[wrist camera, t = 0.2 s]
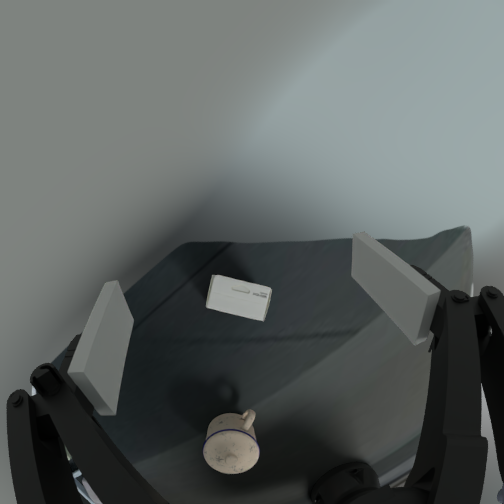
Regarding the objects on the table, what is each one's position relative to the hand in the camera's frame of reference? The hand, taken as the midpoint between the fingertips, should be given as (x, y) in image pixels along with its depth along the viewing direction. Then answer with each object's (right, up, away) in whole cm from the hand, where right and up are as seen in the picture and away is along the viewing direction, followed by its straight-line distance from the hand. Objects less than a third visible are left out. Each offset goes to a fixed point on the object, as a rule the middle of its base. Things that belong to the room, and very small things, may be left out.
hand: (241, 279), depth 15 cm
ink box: (-2, -7, +35) cm, 36 cm away
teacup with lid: (-3, -31, +31) cm, 44 cm away
